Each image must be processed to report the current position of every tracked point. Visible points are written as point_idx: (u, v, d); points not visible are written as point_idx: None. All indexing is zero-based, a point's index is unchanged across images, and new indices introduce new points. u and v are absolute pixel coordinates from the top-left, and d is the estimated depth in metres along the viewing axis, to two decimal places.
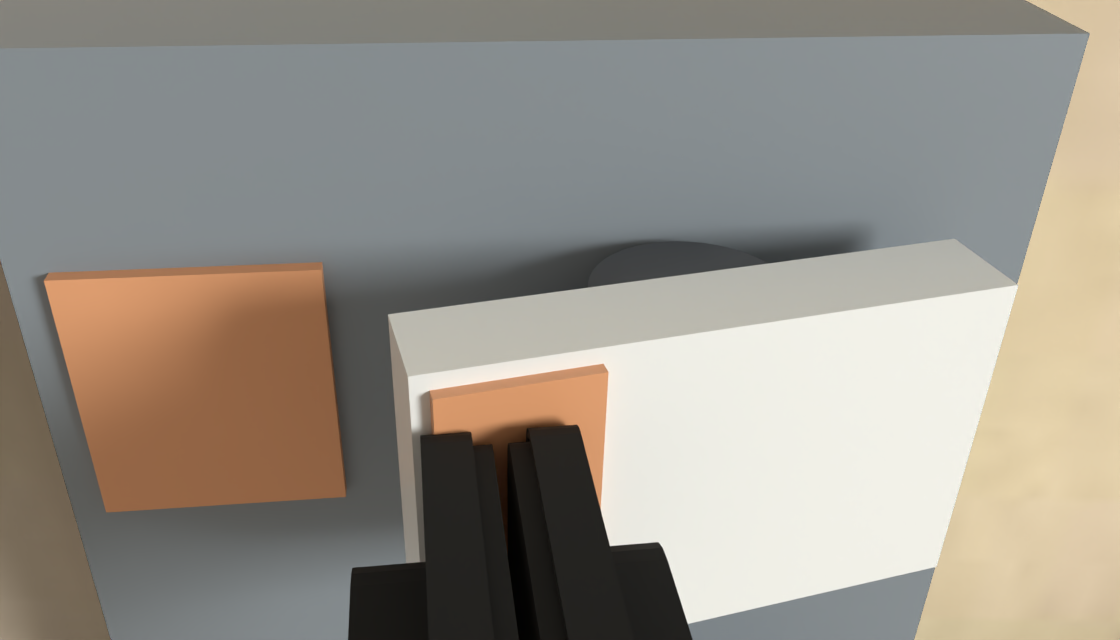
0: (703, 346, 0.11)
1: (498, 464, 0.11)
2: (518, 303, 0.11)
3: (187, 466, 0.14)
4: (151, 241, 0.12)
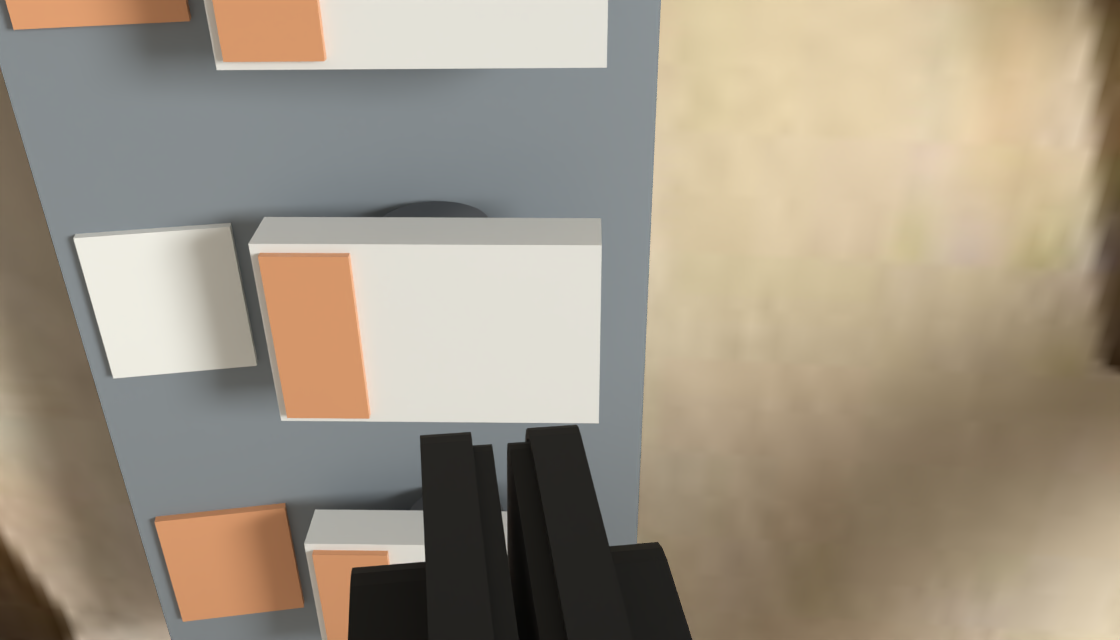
0: None
1: None
2: None
3: None
4: None
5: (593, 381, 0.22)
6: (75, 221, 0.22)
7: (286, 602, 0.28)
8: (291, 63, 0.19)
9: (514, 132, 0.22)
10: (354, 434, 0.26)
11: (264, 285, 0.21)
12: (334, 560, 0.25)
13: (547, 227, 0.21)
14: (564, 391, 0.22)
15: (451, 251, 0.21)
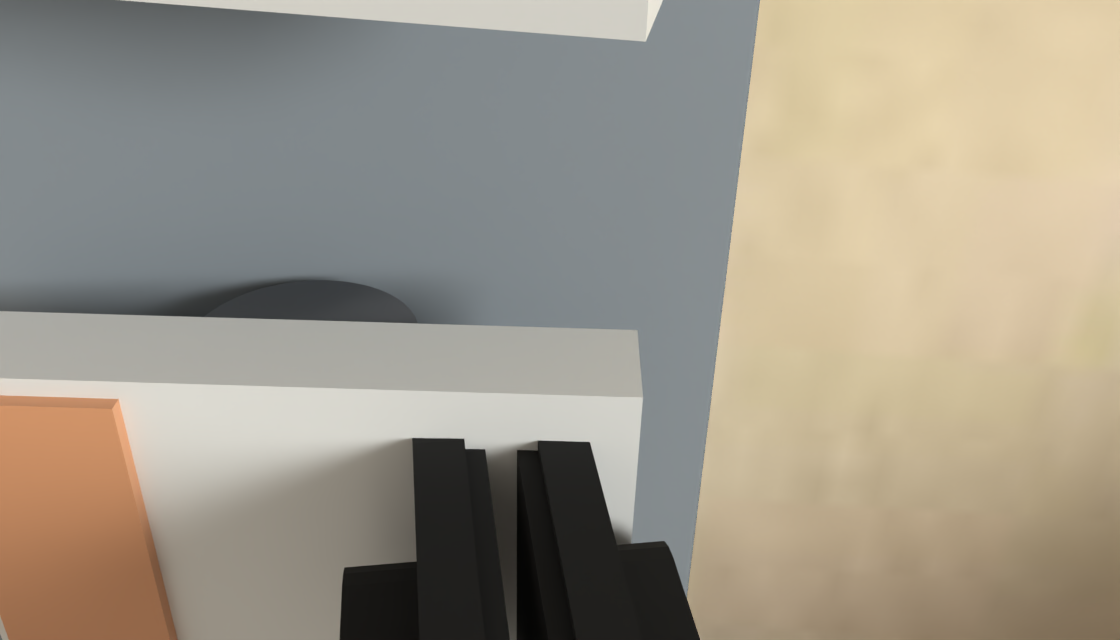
0: None
1: None
2: None
3: None
4: None
5: None
6: None
7: None
8: None
9: (474, 156, 0.12)
10: None
11: None
12: None
13: (530, 349, 0.10)
14: None
15: (333, 399, 0.10)
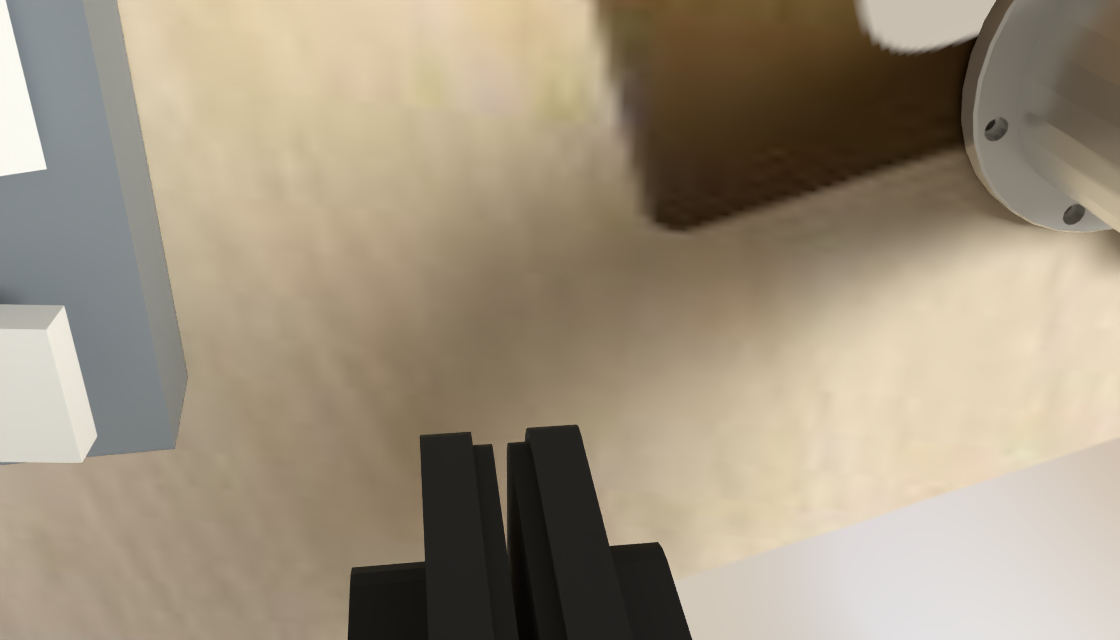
0: None
1: None
2: None
3: None
4: None
5: (30, 127, 0.25)
6: None
7: None
8: None
9: None
10: None
11: None
12: None
13: None
14: (5, 141, 0.25)
15: None
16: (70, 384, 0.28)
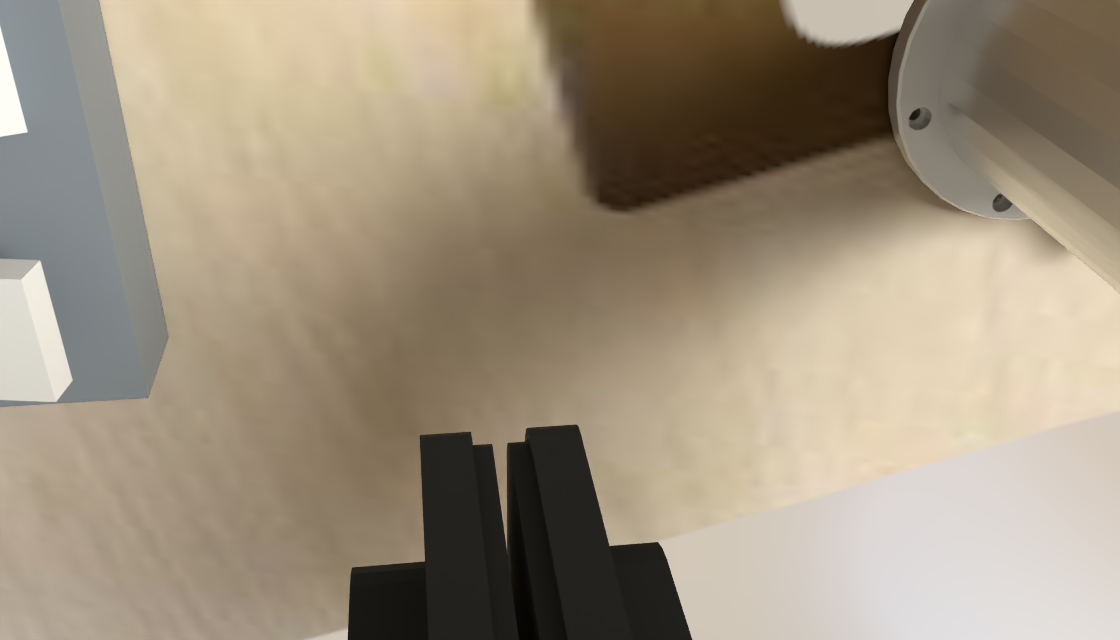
0: None
1: None
2: None
3: None
4: None
5: (12, 95, 0.29)
6: None
7: None
8: None
9: None
10: None
11: None
12: None
13: None
14: None
15: None
16: (44, 330, 0.32)
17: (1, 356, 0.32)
